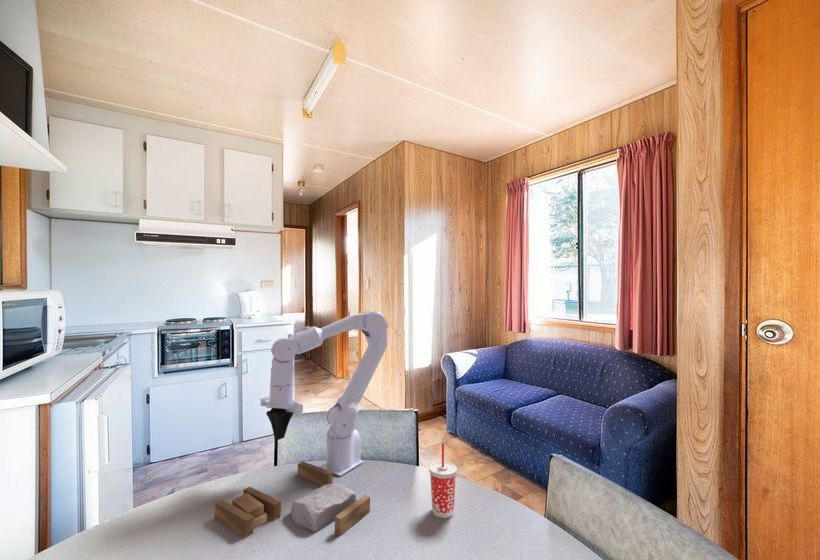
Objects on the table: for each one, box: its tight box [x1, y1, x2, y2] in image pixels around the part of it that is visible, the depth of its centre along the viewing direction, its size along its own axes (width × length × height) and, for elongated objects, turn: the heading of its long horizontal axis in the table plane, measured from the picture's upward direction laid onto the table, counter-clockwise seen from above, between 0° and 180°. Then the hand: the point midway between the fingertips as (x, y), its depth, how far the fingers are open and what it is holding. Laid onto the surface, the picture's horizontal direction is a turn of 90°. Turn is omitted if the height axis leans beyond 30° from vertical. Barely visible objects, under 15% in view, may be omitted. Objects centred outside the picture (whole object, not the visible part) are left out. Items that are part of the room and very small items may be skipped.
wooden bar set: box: [214, 461, 371, 539], centre depth 70 cm, size 23×26×3 cm
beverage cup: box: [428, 442, 458, 519], centre depth 71 cm, size 6×6×14 cm
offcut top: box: [231, 493, 264, 519], centre depth 68 cm, size 3×7×2 cm, turn 52°
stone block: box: [290, 483, 358, 533], centre depth 70 cm, size 12×5×10 cm
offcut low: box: [253, 513, 268, 530], centre depth 67 cm, size 4×8×2 cm, turn 58°
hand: (279, 438), depth 85 cm, fingers closed
